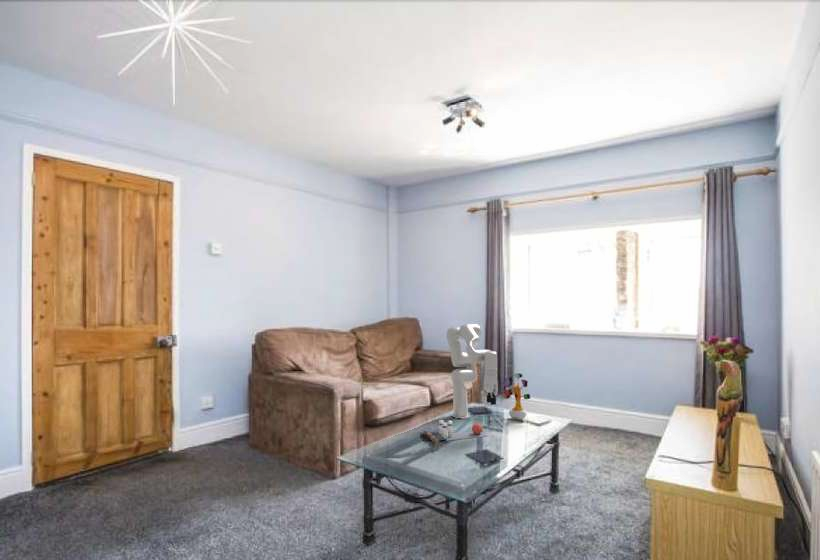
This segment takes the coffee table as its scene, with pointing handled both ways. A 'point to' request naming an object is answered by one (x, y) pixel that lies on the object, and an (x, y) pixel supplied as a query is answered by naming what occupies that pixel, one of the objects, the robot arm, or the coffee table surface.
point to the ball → (477, 429)
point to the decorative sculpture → (516, 397)
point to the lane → (465, 435)
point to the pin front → (449, 428)
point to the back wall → (432, 437)
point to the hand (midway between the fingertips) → (491, 403)
